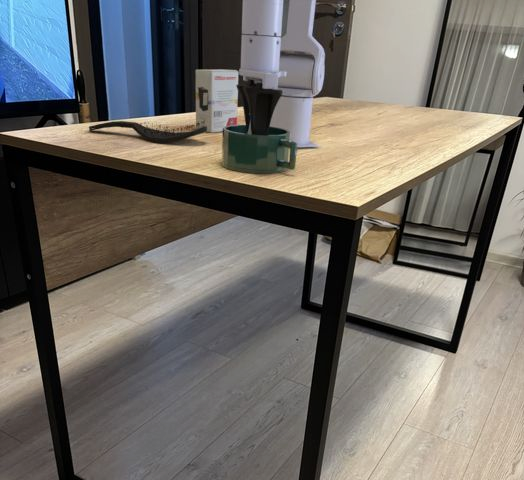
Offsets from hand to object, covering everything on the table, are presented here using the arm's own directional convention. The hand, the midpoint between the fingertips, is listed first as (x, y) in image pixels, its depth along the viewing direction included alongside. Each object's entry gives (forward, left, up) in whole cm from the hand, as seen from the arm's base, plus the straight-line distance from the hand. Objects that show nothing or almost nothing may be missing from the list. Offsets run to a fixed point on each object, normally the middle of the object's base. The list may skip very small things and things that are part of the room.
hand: (256, 135), depth 84 cm
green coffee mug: (+1, +1, -5) cm, 5 cm away
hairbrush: (-28, -10, -5) cm, 30 cm away
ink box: (-36, +8, -5) cm, 37 cm away
